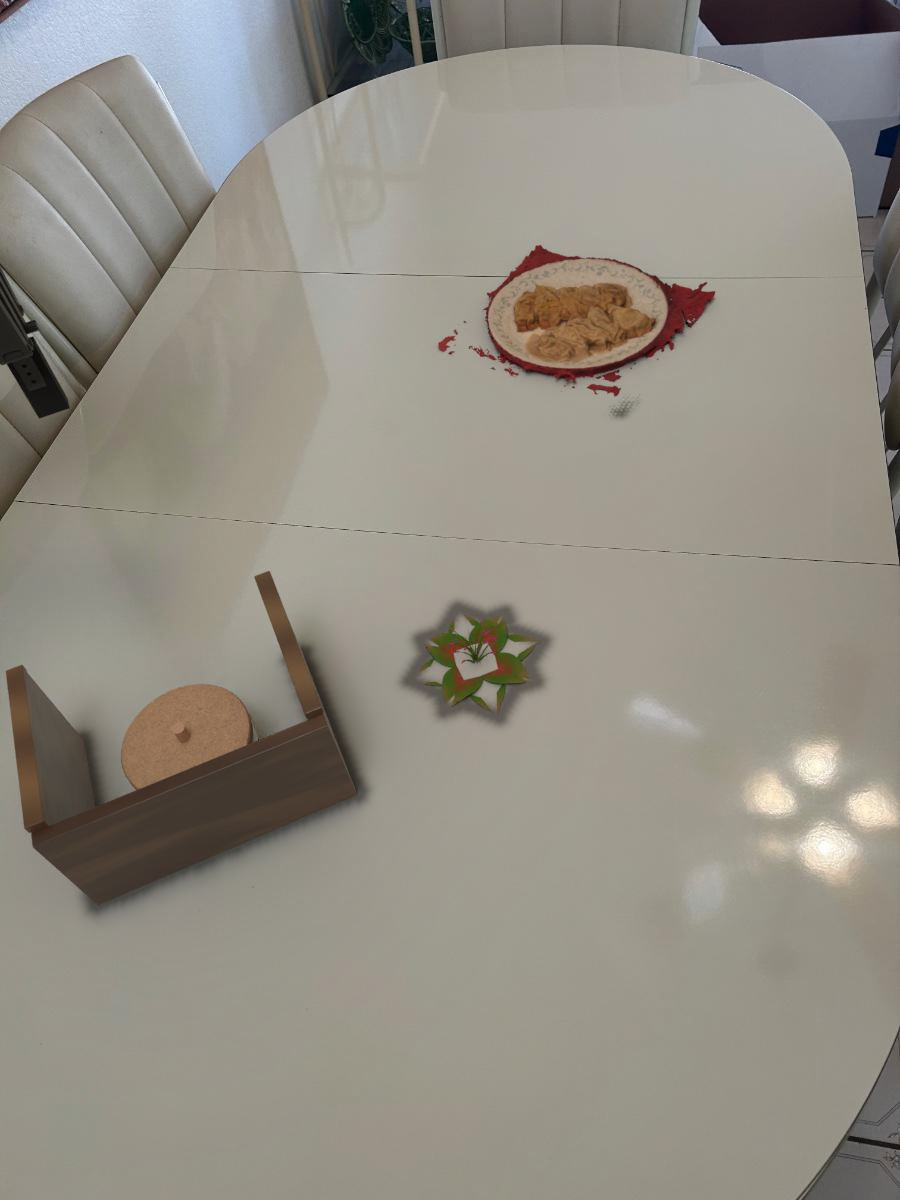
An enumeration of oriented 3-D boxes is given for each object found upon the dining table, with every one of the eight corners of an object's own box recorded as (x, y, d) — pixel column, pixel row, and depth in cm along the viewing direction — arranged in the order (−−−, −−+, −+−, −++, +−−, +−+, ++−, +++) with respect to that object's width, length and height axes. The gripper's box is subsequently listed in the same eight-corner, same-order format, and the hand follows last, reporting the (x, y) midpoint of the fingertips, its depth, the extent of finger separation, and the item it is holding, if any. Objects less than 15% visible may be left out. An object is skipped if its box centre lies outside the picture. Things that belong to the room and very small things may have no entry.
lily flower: (505, 740, 81) (501, 712, 77) (388, 692, 85) (379, 663, 82) (563, 638, 87) (562, 608, 83) (451, 597, 91) (445, 567, 88)
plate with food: (538, 257, 127) (537, 233, 124) (715, 301, 115) (717, 277, 112) (436, 357, 116) (432, 334, 114) (618, 417, 105) (618, 393, 102)
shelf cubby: (73, 748, 86) (5, 670, 76) (305, 656, 89) (269, 570, 79) (99, 909, 76) (25, 843, 66) (360, 798, 79) (326, 719, 69)
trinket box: (298, 756, 82) (270, 699, 75) (226, 861, 77) (188, 810, 70) (204, 713, 86) (168, 655, 79) (129, 810, 81) (84, 757, 74)
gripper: (-43, 157, 59) (107, 438, 77) (-53, 84, 67) (85, 354, 85) (-164, 192, 58) (17, 469, 76) (-159, 113, 66) (4, 381, 84)
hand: (53, 408), depth 81 cm, fingers closed
